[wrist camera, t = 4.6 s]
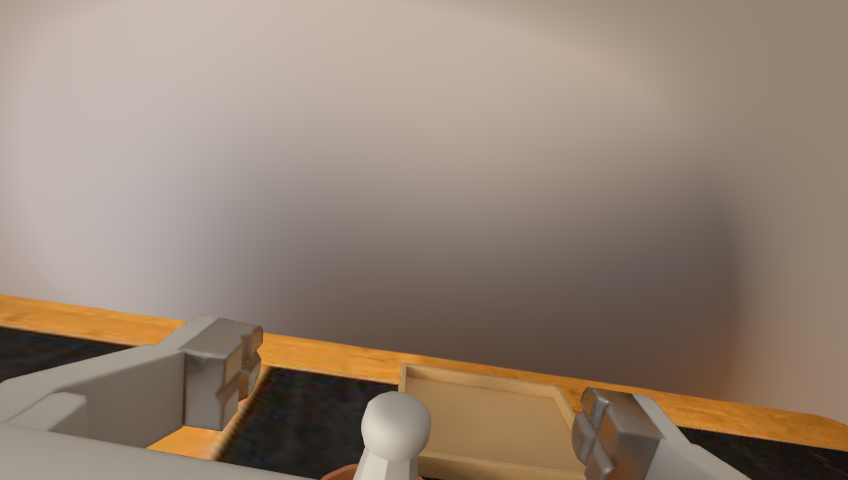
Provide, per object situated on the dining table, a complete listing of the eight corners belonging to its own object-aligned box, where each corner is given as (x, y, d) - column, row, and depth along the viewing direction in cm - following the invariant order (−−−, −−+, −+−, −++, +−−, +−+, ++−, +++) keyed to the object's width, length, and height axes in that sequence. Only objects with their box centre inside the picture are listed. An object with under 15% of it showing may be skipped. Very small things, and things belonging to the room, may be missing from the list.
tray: (554, 401, 50) (559, 385, 49) (606, 501, 36) (613, 481, 36) (399, 378, 49) (402, 362, 48) (391, 472, 35) (395, 452, 34)
